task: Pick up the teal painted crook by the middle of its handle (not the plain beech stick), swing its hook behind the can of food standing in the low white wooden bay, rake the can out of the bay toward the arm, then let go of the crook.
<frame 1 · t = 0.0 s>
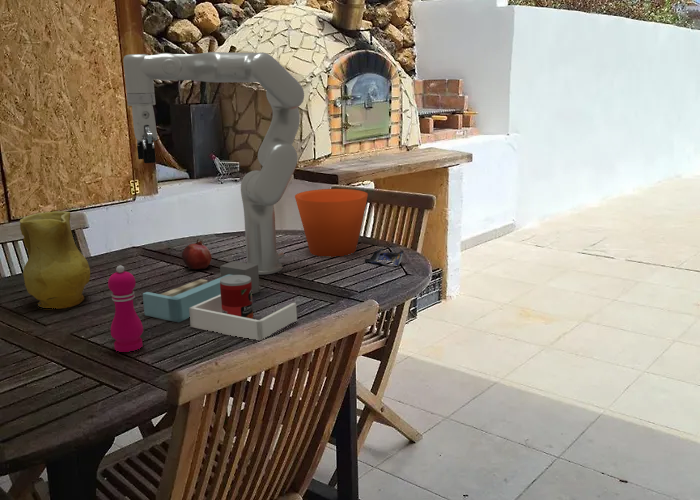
hand: (146, 160, 201), 37 cm above the table, tool pointing down, fingers open, 9 cm apart
pitcher: (61, 302, 197), on the table
fruit: (197, 269, 227), on the table
flowerpot: (332, 251, 245), on the table
pepper mill: (128, 348, 164), on the table
stick: (182, 296, 201), on the table
canned food: (238, 320, 180), on the table
bay: (244, 324, 177), on the table
crook: (242, 291, 203), on the table
snack package: (383, 264, 229), on the table
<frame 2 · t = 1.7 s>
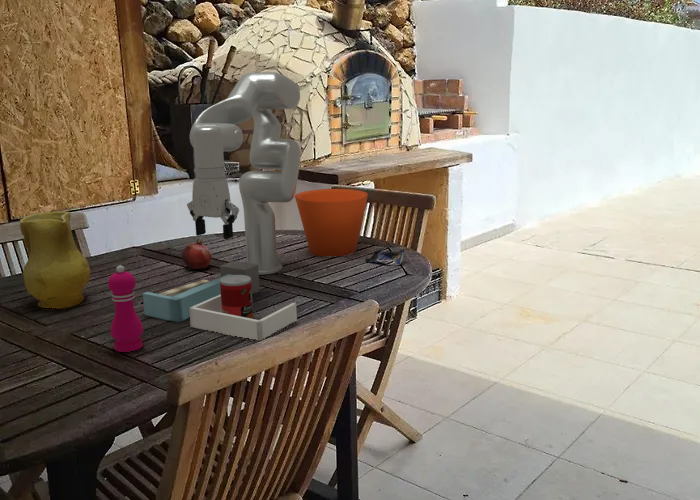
hand: (214, 236, 190), 18 cm above the table, tool pointing down, fingers open, 9 cm apart
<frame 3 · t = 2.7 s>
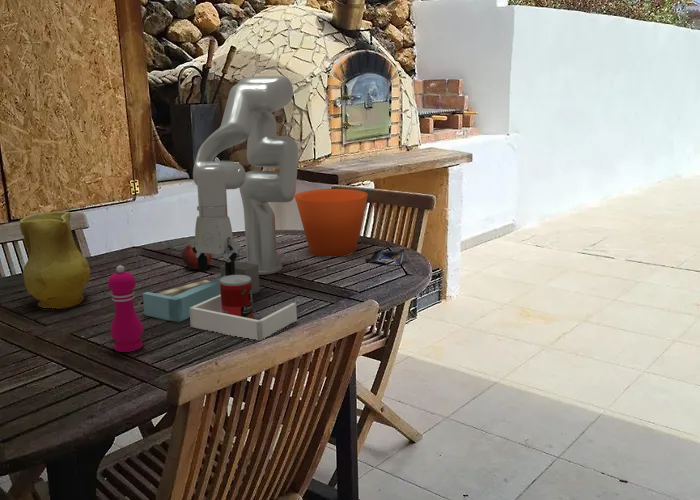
hand: (216, 273, 192), 8 cm above the table, tool pointing down, fingers open, 9 cm apart
nothing on the table moved.
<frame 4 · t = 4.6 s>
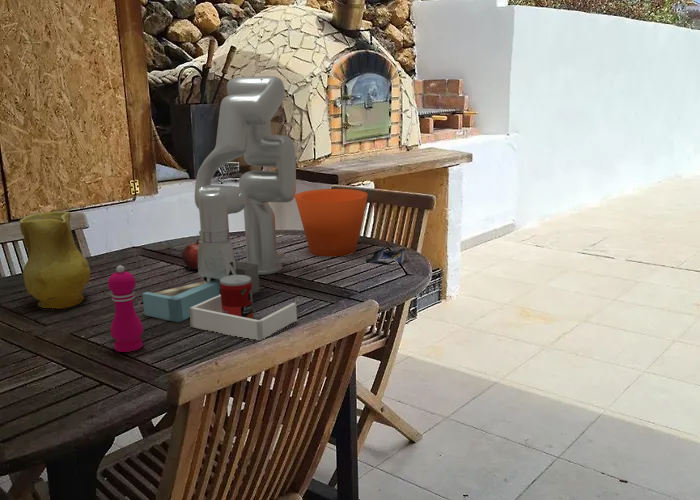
hand: (219, 300, 195), 0 cm above the table, tool pointing down, fingers closed on crook, 3 cm apart
crook: (242, 291, 203), on the table, touching gripper
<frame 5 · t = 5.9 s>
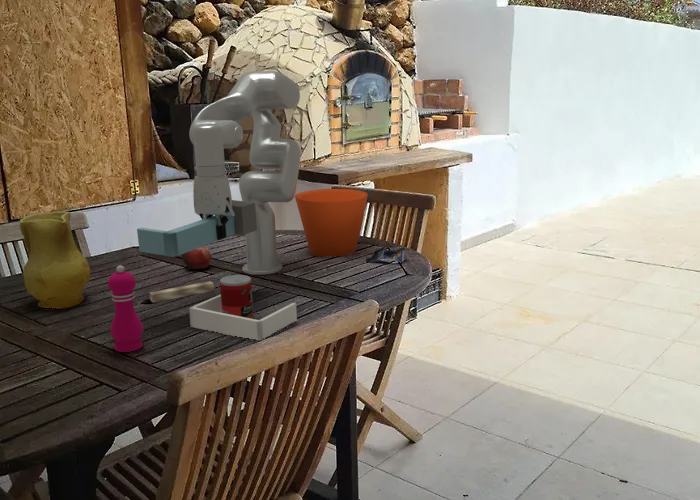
hand: (216, 237, 191), 18 cm above the table, tool pointing down, fingers closed on crook, 3 cm apart
crook: (239, 230, 199), point 18 cm above the table, touching gripper
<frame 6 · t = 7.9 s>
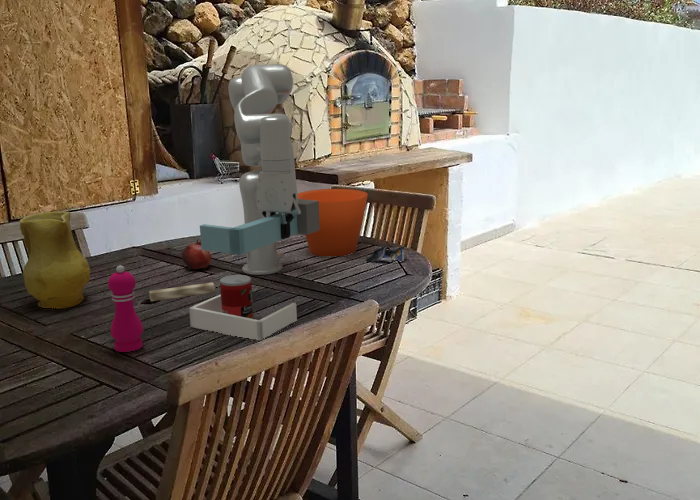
hand: (279, 236, 181), 20 cm above the table, tool pointing down, fingers closed on crook, 3 cm apart
crook: (301, 230, 189), point 20 cm above the table, touching gripper
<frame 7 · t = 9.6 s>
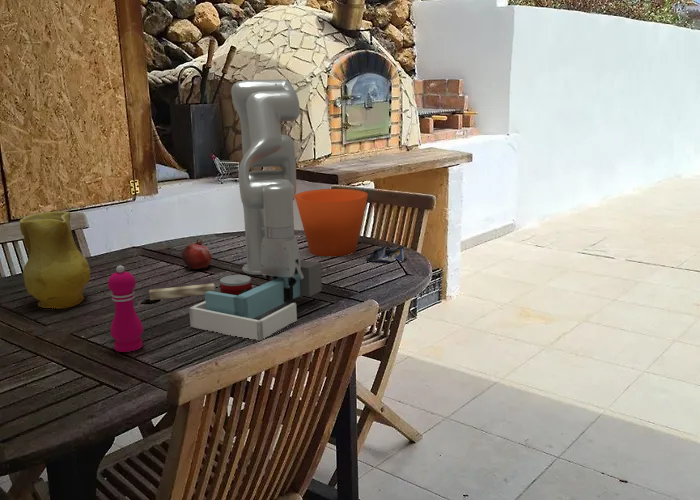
hand: (282, 299, 185), 3 cm above the table, tool pointing down, fingers closed on crook, 3 cm apart
crook: (304, 290, 193), point 3 cm above the table, touching gripper
when the fingers open (1 cm above the table, at t = 15.1 s): crook stays where it is, on the table.
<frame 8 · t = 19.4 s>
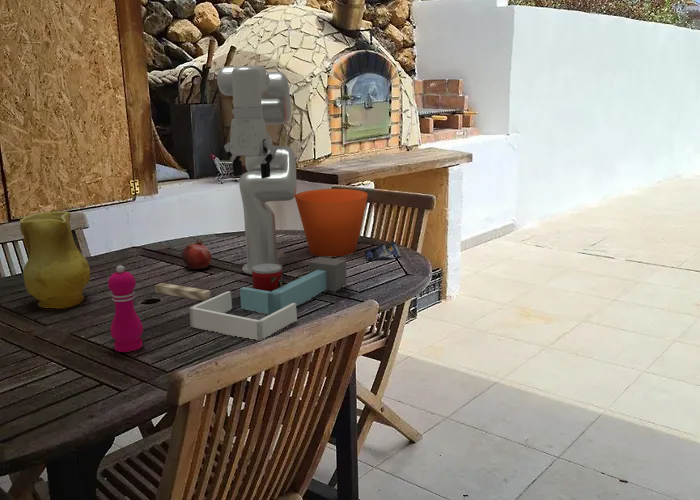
hand: (251, 176, 195), 33 cm above the table, tool pointing down, fingers open, 9 cm apart
canned food: (268, 306, 190), on the table
crook: (329, 286, 206), on the table
snack package: (380, 259, 235), on the table
at the end: canned food inside the target area (2.4 cm from its centre), on the table; canned food tilted 0°; the gripper is holding nothing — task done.
